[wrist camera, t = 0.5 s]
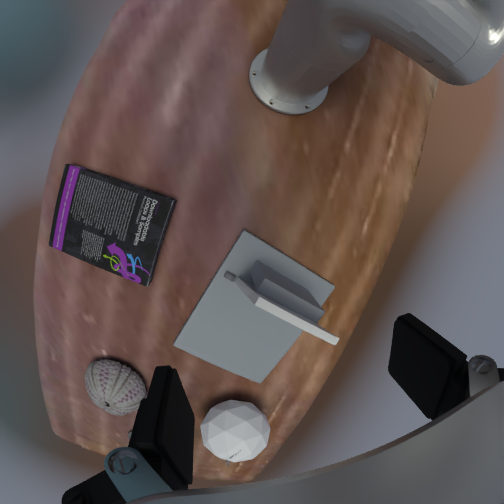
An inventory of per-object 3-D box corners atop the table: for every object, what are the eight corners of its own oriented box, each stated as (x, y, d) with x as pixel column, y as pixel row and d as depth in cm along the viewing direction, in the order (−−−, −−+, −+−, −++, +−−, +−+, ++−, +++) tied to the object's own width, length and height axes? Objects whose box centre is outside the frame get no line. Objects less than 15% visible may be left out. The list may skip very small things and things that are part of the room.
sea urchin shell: (159, 399, 48) (153, 426, 40) (107, 403, 48) (98, 427, 40) (131, 349, 45) (119, 375, 37) (78, 357, 44) (62, 380, 36)
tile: (259, 296, 29) (254, 305, 29) (339, 338, 32) (335, 345, 32) (238, 277, 42) (234, 283, 41) (300, 311, 44) (297, 316, 44)
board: (243, 228, 41) (250, 242, 32) (332, 284, 45) (356, 307, 36) (174, 341, 45) (166, 374, 36) (259, 379, 49) (266, 413, 40)
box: (57, 240, 39) (152, 281, 42) (47, 245, 36) (146, 289, 39) (76, 163, 36) (179, 199, 40) (65, 162, 33) (174, 201, 36)
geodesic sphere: (252, 456, 48) (273, 478, 36) (191, 449, 46) (197, 472, 34) (263, 400, 54) (287, 410, 42) (202, 391, 52) (210, 400, 40)
